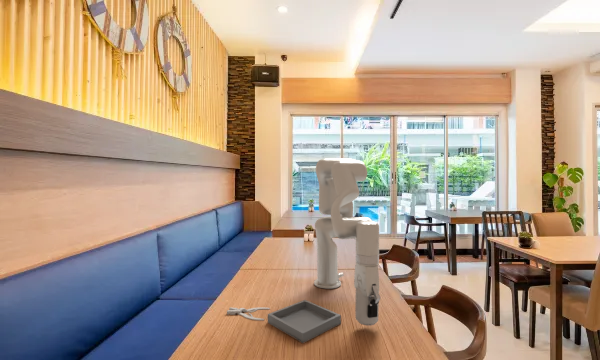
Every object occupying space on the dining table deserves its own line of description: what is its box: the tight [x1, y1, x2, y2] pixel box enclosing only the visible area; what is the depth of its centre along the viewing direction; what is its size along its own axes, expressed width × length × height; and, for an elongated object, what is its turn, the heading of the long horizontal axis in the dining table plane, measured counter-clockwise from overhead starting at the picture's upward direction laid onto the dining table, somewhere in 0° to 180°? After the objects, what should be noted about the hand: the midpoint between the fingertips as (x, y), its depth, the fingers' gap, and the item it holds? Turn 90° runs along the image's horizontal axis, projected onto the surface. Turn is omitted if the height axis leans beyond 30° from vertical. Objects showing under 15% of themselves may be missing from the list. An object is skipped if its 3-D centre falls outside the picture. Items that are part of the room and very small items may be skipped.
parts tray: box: [267, 299, 342, 344], centre depth 106 cm, size 18×18×3 cm
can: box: [354, 286, 380, 326], centre depth 101 cm, size 8×8×12 cm
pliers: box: [226, 306, 271, 321], centre depth 114 cm, size 10×2×15 cm
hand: (366, 310), depth 101 cm, fingers closed on can, 7 cm apart
